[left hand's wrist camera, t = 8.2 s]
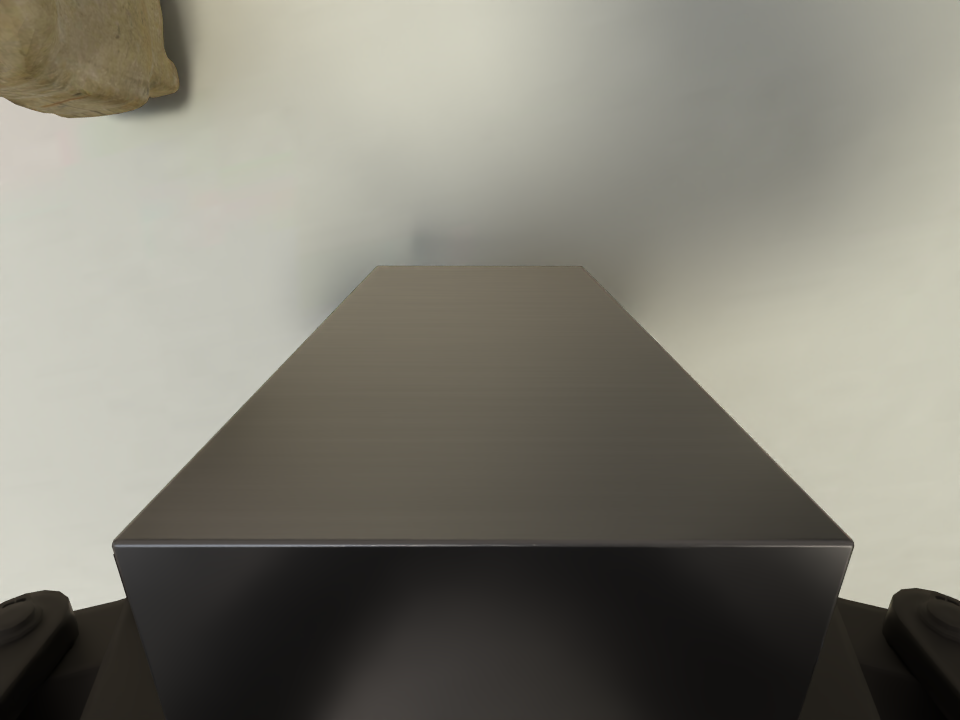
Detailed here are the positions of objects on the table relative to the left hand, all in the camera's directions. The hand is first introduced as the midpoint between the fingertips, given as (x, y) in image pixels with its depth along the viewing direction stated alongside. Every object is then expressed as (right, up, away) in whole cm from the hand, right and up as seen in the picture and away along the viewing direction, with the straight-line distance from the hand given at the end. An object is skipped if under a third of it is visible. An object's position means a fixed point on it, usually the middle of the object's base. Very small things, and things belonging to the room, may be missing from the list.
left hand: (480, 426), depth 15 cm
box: (0, -8, +6) cm, 10 cm away
